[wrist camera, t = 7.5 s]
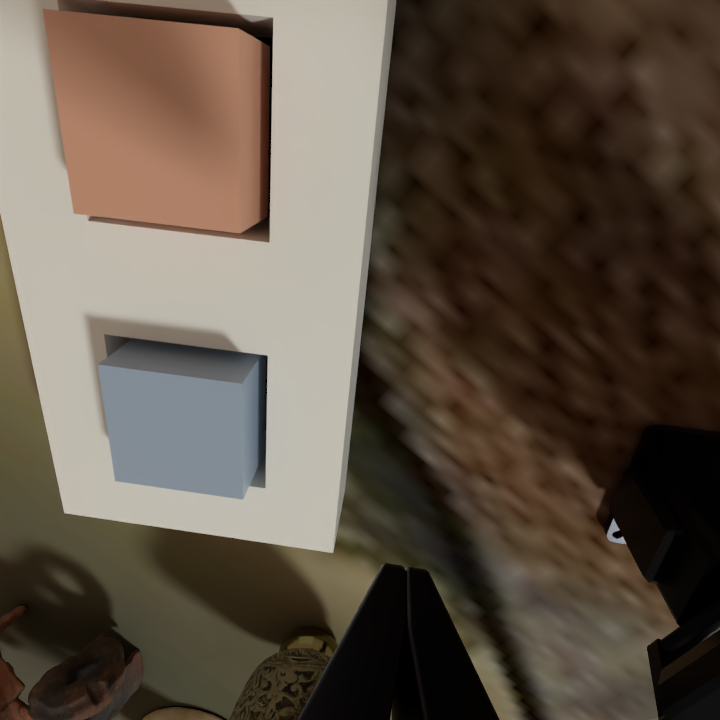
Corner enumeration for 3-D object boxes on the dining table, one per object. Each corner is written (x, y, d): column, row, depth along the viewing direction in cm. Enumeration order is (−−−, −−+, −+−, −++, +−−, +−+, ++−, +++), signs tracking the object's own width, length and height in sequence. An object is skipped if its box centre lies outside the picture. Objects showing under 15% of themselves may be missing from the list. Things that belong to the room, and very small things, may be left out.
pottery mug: (109, 704, 36) (-24, 806, 29) (62, 582, 37) (-77, 653, 30) (195, 697, 29) (46, 827, 23) (133, 548, 30) (-25, 630, 24)
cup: (228, 627, 30) (170, 783, 23) (319, 582, 28) (286, 741, 21) (306, 694, 32) (275, 856, 25) (397, 657, 30) (392, 825, 23)
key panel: (403, -63, 15) (400, -122, 12) (344, 491, 25) (333, 552, 21) (32, -96, 16) (-81, -162, 12) (114, 458, 25) (64, 513, 22)
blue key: (266, 347, 19) (241, 383, 16) (264, 452, 21) (243, 499, 19) (141, 331, 19) (97, 364, 17) (152, 436, 22) (115, 481, 19)
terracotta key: (270, 46, 15) (237, 28, 12) (267, 216, 17) (240, 233, 14) (109, 30, 15) (42, 8, 12) (127, 200, 17) (73, 213, 14)
